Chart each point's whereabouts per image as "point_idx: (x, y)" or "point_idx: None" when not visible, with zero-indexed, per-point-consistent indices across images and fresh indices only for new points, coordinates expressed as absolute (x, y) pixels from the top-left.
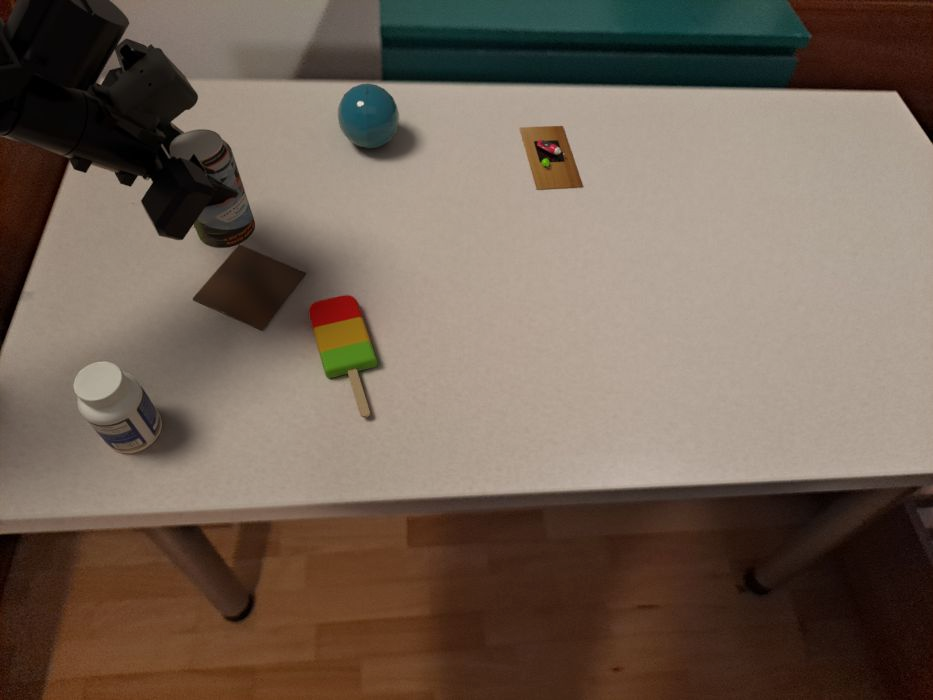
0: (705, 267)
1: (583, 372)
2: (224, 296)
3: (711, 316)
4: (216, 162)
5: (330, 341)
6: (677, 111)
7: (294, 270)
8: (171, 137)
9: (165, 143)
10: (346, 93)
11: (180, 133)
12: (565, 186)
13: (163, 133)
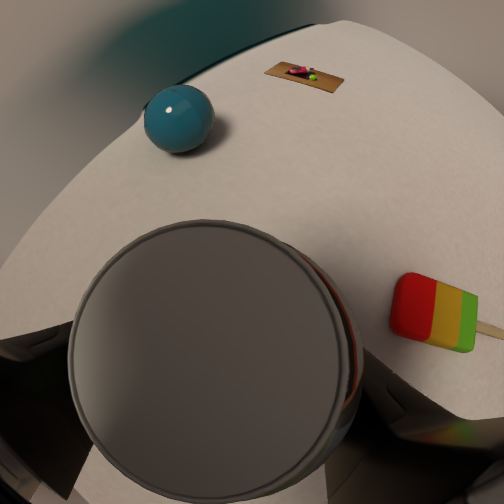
0: (427, 91)
1: (490, 179)
2: None
3: (458, 112)
4: (352, 330)
5: (451, 328)
6: (307, 39)
7: None
8: (54, 386)
9: (62, 413)
10: (149, 110)
11: (57, 349)
12: (339, 83)
13: (31, 405)
